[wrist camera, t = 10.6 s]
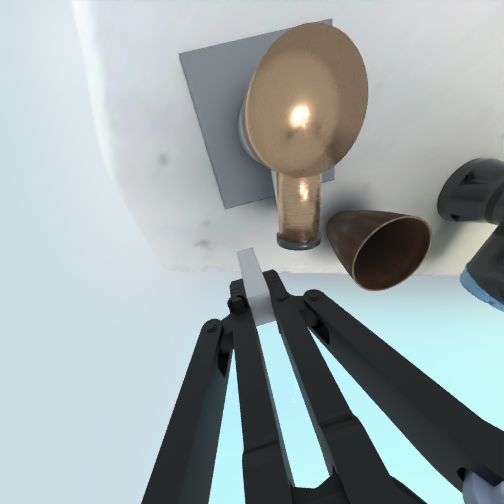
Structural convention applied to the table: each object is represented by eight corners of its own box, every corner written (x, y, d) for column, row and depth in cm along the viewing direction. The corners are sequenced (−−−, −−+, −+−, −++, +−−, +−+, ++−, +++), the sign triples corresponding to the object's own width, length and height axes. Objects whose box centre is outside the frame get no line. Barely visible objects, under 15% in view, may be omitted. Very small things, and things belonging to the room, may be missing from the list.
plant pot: (373, 234, 51) (434, 266, 37) (322, 263, 52) (362, 303, 38) (361, 183, 44) (430, 198, 30) (303, 217, 45) (343, 247, 31)
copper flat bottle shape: (234, 57, 22) (241, 23, 16) (340, 50, 24) (382, 16, 18) (253, 238, 33) (262, 257, 27) (326, 226, 35) (349, 242, 29)
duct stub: (332, 197, 44) (365, 209, 34) (230, 225, 43) (234, 246, 33) (328, 22, 31) (381, -38, 21) (179, 56, 29) (163, 10, 20)
